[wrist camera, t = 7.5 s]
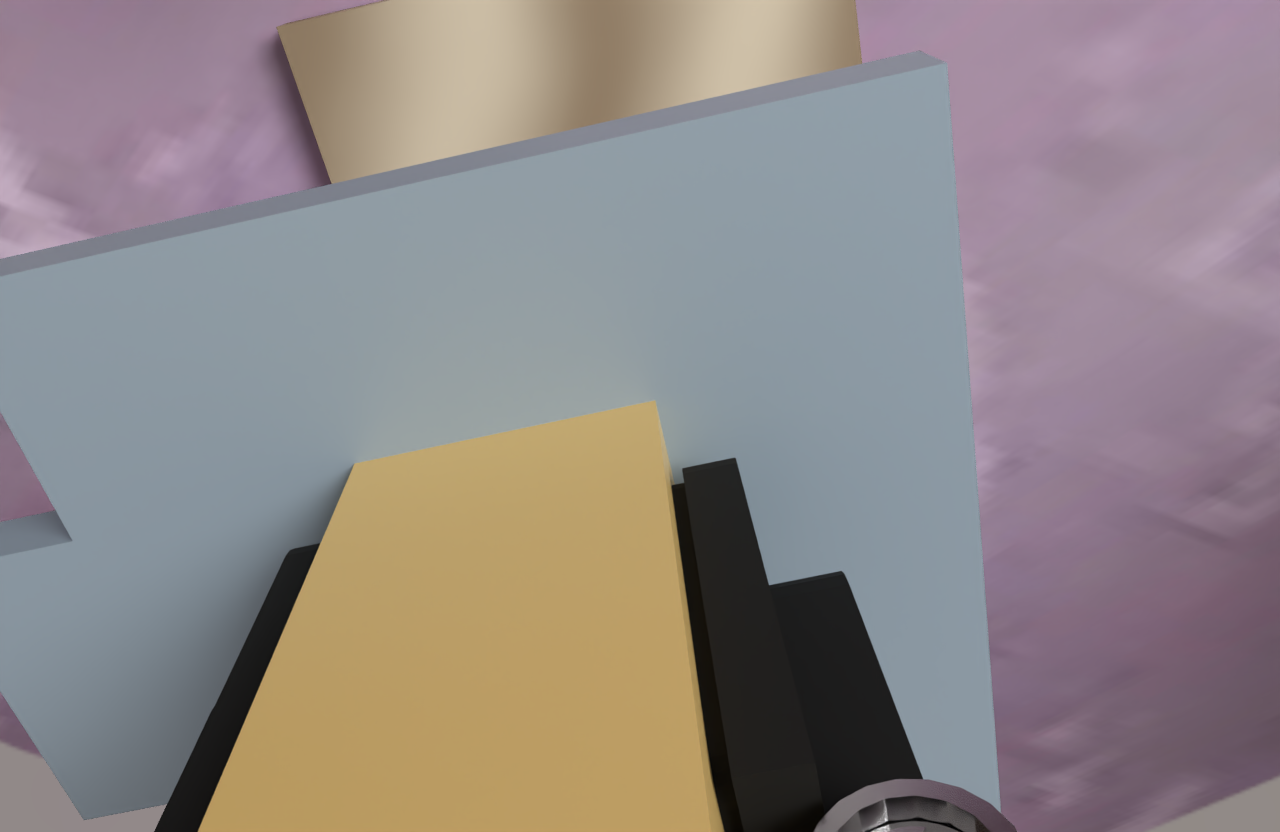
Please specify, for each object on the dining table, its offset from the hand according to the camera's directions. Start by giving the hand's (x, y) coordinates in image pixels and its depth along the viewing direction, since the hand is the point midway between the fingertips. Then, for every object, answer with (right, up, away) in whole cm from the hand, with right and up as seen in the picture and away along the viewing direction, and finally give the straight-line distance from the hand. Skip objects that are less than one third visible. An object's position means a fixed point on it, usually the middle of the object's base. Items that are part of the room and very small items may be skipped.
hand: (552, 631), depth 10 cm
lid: (0, +1, +1) cm, 1 cm away
